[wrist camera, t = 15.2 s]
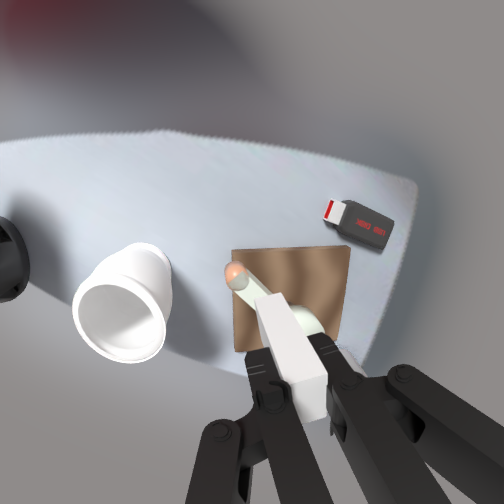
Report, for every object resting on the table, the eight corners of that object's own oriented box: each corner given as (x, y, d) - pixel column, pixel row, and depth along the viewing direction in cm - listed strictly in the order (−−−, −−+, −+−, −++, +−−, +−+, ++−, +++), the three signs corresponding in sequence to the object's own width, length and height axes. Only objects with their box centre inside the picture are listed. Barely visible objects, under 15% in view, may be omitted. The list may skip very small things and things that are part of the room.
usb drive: (377, 247, 44) (386, 252, 41) (319, 224, 41) (326, 228, 39) (389, 219, 43) (398, 222, 40) (331, 191, 40) (339, 194, 37)
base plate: (234, 346, 45) (235, 352, 44) (231, 249, 40) (232, 253, 39) (333, 335, 48) (336, 340, 46) (346, 245, 43) (350, 248, 41)
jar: (192, 280, 41) (186, 339, 26) (140, 312, 41) (117, 375, 27) (150, 220, 37) (119, 254, 23) (99, 259, 37) (54, 305, 23)
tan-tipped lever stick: (322, 322, 39) (333, 337, 35) (289, 349, 40) (297, 366, 36) (246, 244, 34) (251, 254, 30) (209, 279, 34) (209, 293, 31)
